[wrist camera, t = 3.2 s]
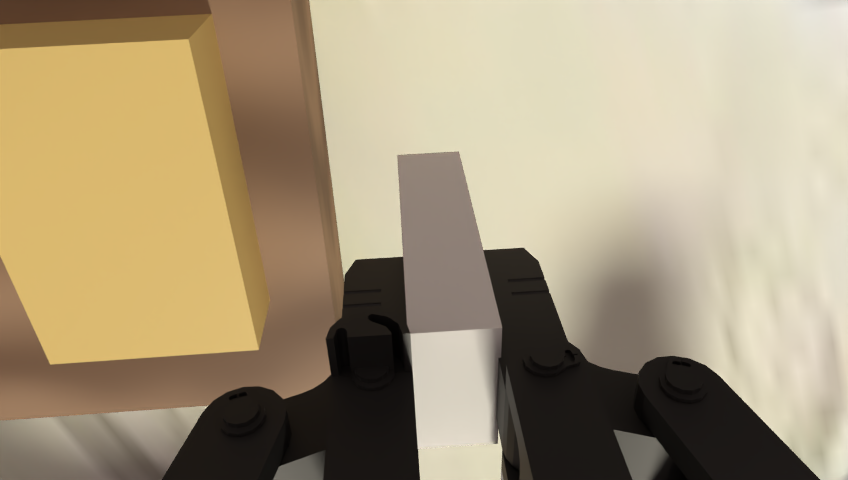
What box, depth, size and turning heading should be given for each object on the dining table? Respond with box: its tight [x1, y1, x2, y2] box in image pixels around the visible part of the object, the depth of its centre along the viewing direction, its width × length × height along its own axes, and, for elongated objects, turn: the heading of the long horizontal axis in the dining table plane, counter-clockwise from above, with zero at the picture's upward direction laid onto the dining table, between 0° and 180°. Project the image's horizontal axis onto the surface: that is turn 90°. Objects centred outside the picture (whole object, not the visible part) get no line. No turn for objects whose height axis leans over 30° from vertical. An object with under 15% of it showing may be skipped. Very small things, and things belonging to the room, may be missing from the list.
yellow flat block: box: [0, 14, 270, 365], centre depth 17 cm, size 9×6×2 cm, turn 2°
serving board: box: [0, 0, 344, 420], centre depth 20 cm, size 18×14×4 cm
